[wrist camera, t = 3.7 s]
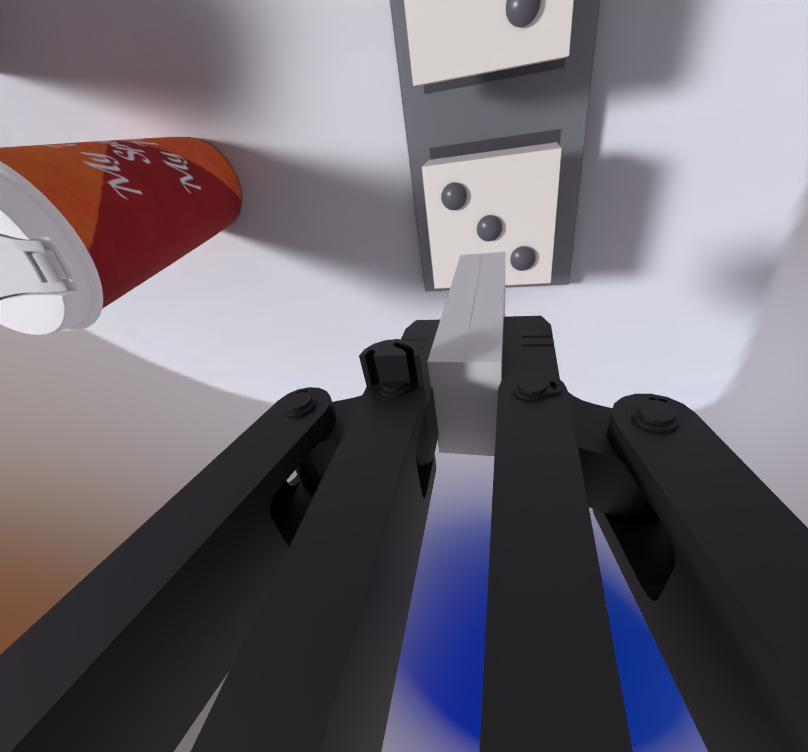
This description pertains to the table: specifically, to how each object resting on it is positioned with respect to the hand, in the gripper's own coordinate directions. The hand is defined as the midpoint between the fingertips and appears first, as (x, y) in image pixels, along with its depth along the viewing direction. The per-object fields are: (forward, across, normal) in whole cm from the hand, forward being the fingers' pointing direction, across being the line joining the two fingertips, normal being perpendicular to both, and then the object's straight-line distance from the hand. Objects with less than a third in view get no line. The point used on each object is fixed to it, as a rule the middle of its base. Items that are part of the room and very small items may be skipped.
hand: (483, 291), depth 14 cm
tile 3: (+9, 0, 0) cm, 9 cm away
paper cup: (+12, -19, +3) cm, 23 cm away
